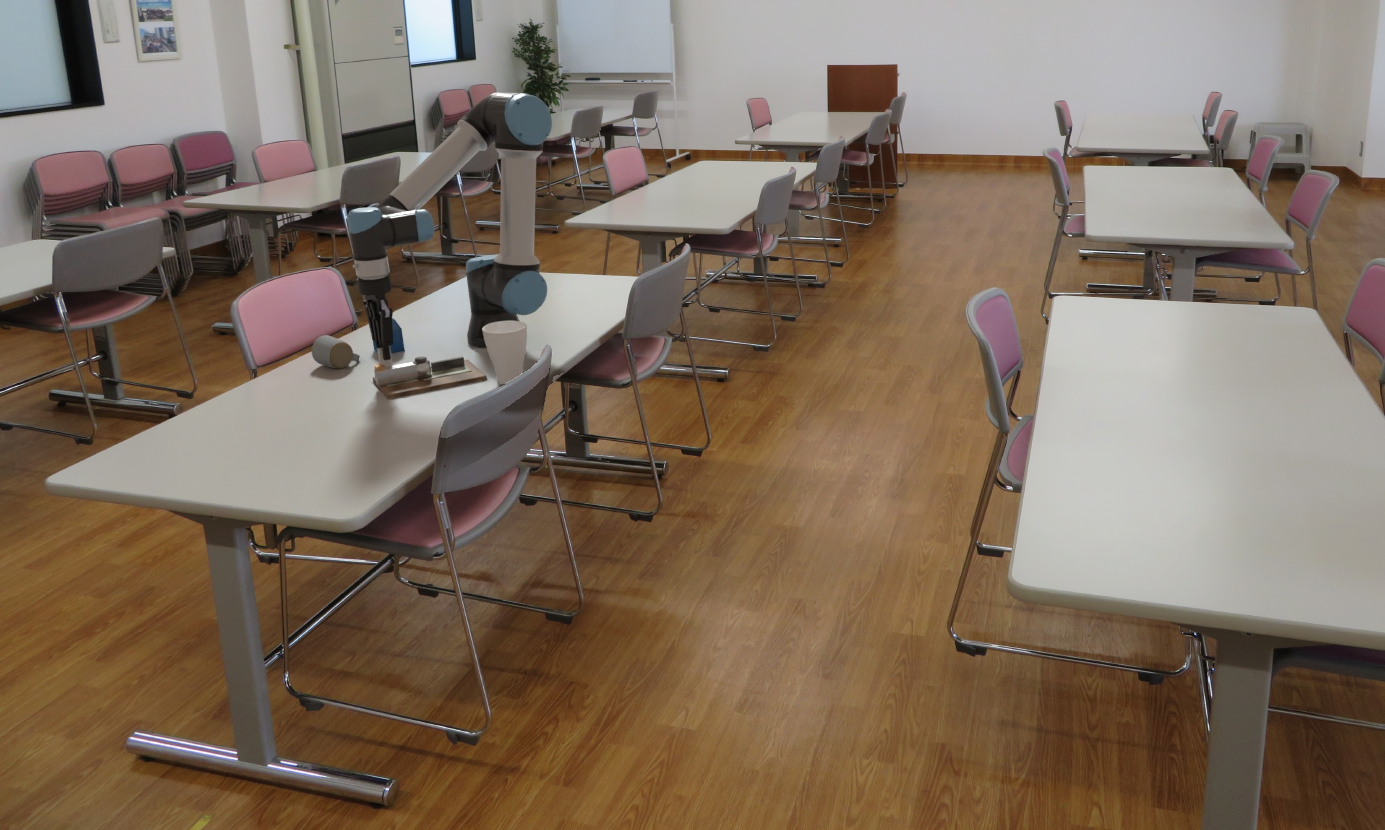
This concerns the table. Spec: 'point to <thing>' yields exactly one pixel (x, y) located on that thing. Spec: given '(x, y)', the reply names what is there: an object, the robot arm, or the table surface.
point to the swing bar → (401, 372)
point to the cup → (506, 348)
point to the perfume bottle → (395, 339)
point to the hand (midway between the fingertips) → (387, 371)
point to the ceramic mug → (333, 352)
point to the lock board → (436, 377)
